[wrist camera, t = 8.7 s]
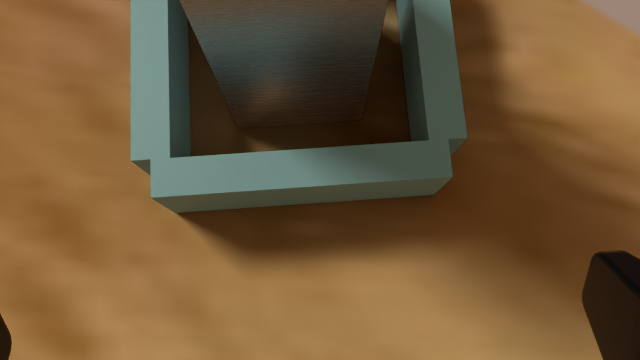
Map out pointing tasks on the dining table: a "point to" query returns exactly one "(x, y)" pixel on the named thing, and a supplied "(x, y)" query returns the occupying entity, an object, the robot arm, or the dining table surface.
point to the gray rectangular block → (290, 56)
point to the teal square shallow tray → (299, 164)
